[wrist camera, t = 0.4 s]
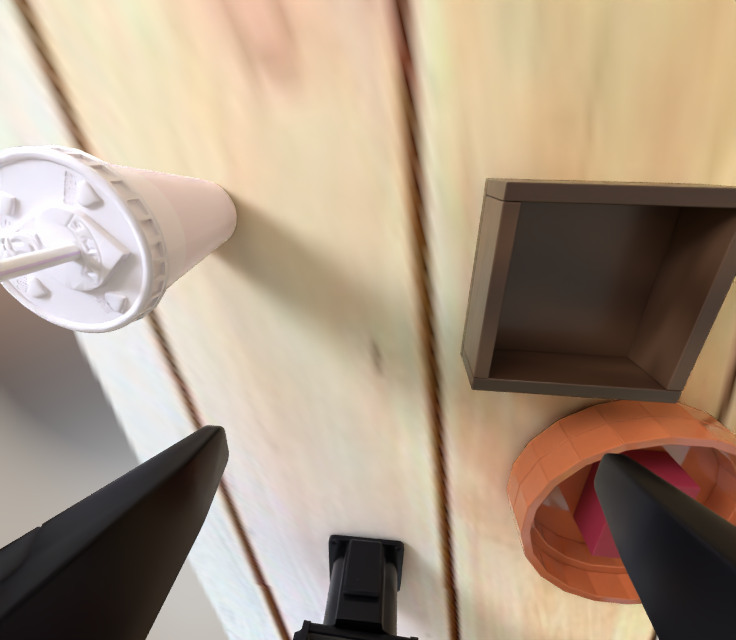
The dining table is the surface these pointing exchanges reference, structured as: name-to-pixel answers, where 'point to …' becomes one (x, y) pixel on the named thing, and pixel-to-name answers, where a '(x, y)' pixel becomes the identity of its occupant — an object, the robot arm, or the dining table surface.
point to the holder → (596, 286)
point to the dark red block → (591, 511)
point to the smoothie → (100, 234)
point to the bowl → (571, 469)
